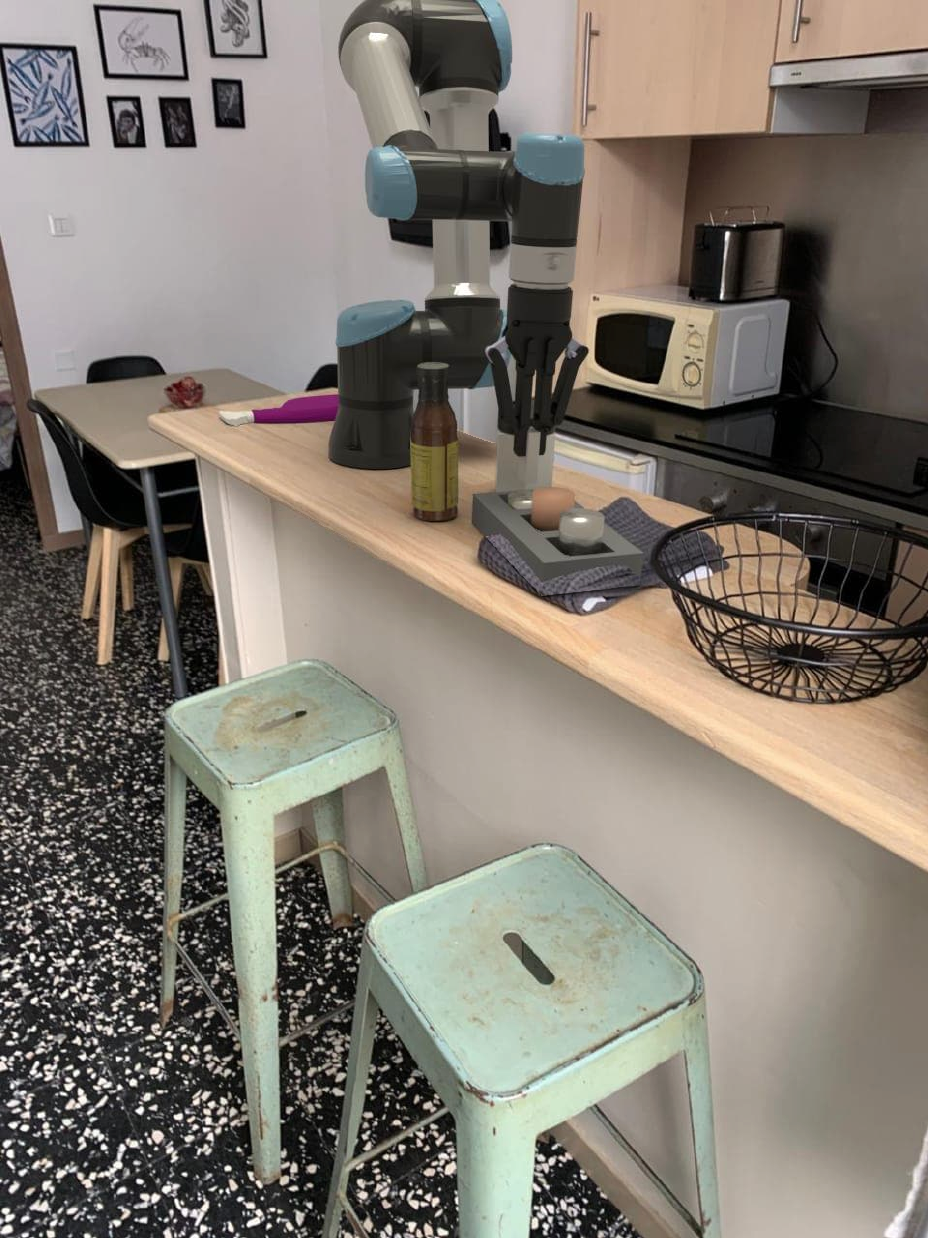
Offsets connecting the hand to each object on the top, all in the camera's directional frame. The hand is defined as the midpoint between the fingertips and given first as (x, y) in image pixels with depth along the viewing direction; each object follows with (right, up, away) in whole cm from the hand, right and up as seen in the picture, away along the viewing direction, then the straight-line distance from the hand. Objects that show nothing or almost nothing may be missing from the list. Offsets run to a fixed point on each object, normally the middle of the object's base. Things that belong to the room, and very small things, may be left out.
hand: (527, 479), depth 118 cm
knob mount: (+2, -10, -4) cm, 11 cm away
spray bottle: (-40, +19, +52) cm, 68 cm away
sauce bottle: (-12, -4, +6) cm, 14 cm away
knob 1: (0, -6, +2) cm, 6 cm away
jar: (0, 0, +16) cm, 16 cm away
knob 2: (+5, -10, -13) cm, 17 cm away
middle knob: (+3, -6, -6) cm, 9 cm away
